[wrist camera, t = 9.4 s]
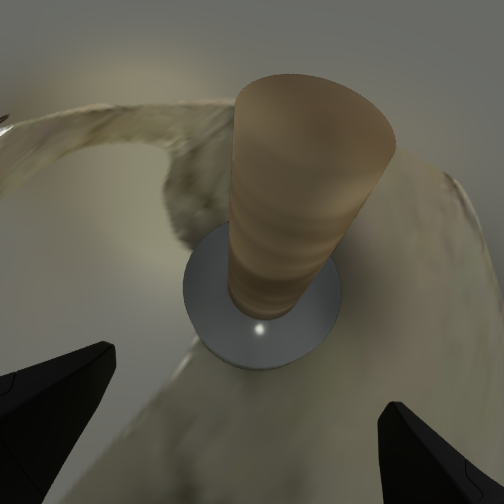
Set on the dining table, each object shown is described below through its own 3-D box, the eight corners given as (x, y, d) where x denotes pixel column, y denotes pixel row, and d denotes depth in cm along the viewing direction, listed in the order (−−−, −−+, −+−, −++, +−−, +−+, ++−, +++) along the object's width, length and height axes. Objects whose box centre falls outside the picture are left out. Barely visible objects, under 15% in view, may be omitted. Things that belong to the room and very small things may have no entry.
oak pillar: (263, 335, 17) (337, 207, 6) (212, 281, 18) (200, 102, 7) (314, 287, 18) (417, 135, 7) (265, 239, 20) (307, 64, 9)
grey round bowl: (221, 392, 19) (219, 392, 15) (172, 268, 23) (163, 243, 19) (344, 335, 21) (367, 322, 18) (287, 228, 25) (297, 200, 22)
